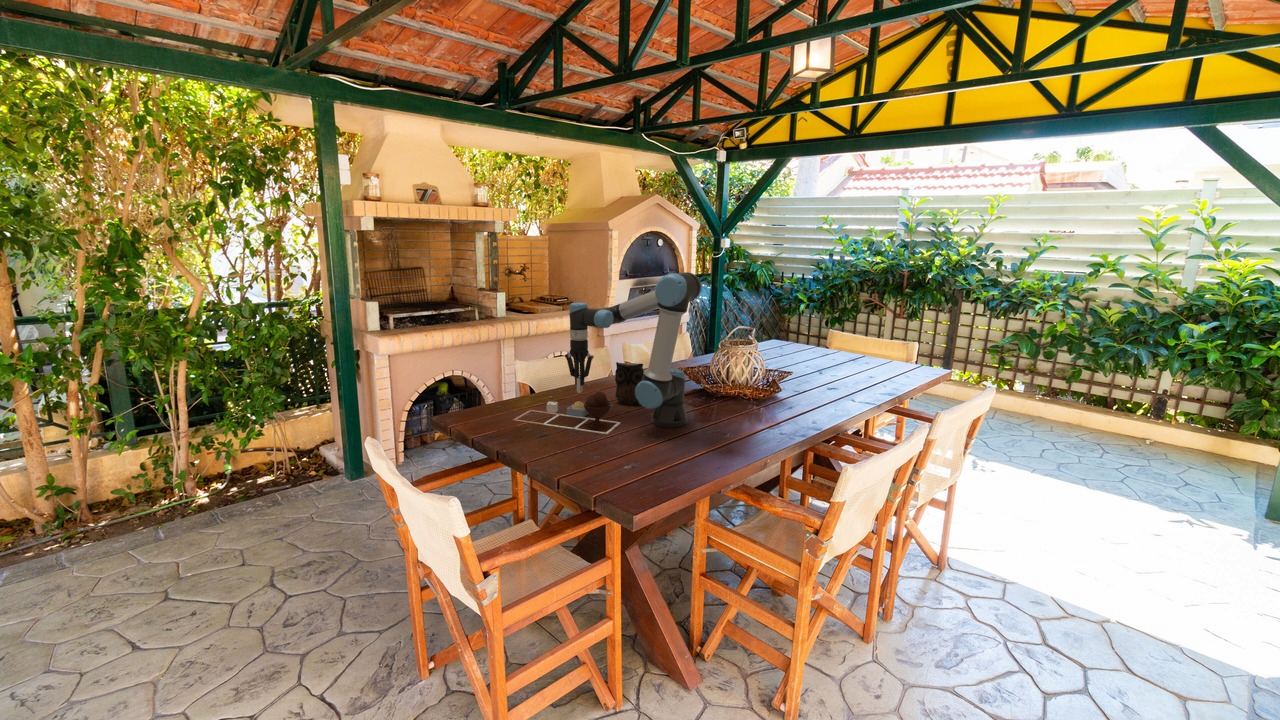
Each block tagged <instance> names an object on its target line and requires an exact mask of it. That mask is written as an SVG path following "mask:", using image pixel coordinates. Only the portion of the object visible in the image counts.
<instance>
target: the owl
mask: <svg viewBox="0 0 1280 720" xmlns="http://www.w3.org/2000/svg"><path fill="white" fill-rule="evenodd" d="M615 363H616V364H615V365H616V370H615V378H614V381H615V383H616V389H615V390H616V391H615V398H616V399H617V403H616V404H618V405H620V406H623V407H624V406H627V407H643V406H642V405H641V404H640V403H639V401H638V400H637V398H636V396H635V388H636V386H637V384H638V383H639V382H641V381H642V378H643V373H644V368H643V367H644V363H635V362H619V361H616V362H615Z"/></svg>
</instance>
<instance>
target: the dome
mask: <svg viewBox="0 0 1280 720" xmlns="http://www.w3.org/2000/svg"><path fill="white" fill-rule="evenodd" d="M573 404H574V405H573ZM573 404H572V405H573V406H572V409H578V410H584V409H585V408H584V404H585V403H584V402H583V401H581V400H580V401H579V400H578V401H575V402H574V403H573Z"/></svg>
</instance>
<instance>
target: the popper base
mask: <svg viewBox="0 0 1280 720" xmlns="http://www.w3.org/2000/svg"><path fill="white" fill-rule="evenodd" d="M573 405H574V403H572V404H571V405H570V406H568V407H567V408H566V415H571V416H578V417H586V416H587V415H589V414H588V413H587V412H586V410H585V409H584V410H578V409H572V406H573Z"/></svg>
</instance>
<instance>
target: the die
mask: <svg viewBox="0 0 1280 720" xmlns="http://www.w3.org/2000/svg"><path fill="white" fill-rule="evenodd" d="M558 408H559V405H558V402H557V401H548V402H547V403H546V412H550V413H558Z"/></svg>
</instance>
